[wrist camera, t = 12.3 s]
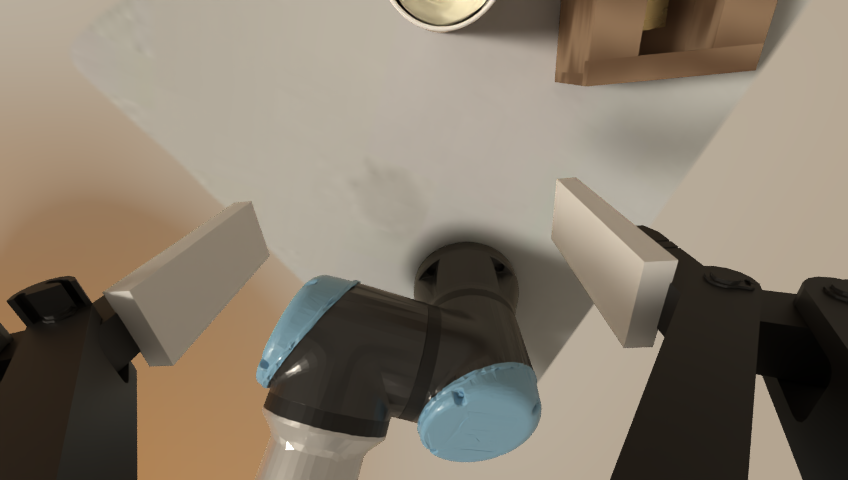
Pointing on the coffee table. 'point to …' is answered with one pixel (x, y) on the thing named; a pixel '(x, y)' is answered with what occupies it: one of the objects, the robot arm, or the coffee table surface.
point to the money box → (658, 40)
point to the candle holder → (442, 13)
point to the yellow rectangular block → (655, 14)
